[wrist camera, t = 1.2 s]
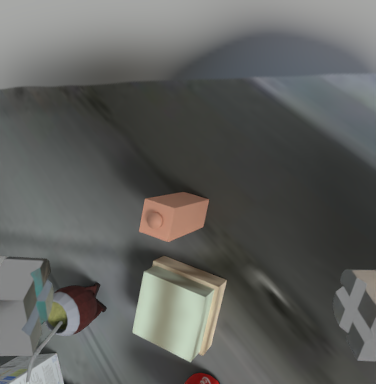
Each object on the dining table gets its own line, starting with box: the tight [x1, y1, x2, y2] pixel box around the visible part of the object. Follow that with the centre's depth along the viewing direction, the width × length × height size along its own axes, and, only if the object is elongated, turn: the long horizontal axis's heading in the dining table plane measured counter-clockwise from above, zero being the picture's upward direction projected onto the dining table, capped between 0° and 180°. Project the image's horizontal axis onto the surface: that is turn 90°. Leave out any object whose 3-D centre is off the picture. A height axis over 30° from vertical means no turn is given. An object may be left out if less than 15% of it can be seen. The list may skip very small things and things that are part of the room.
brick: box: [139, 192, 209, 242], centre depth 45 cm, size 4×4×11 cm
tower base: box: [132, 256, 227, 362], centre depth 48 cm, size 10×10×6 cm
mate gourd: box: [26, 283, 107, 382], centre depth 52 cm, size 8×8×15 cm
